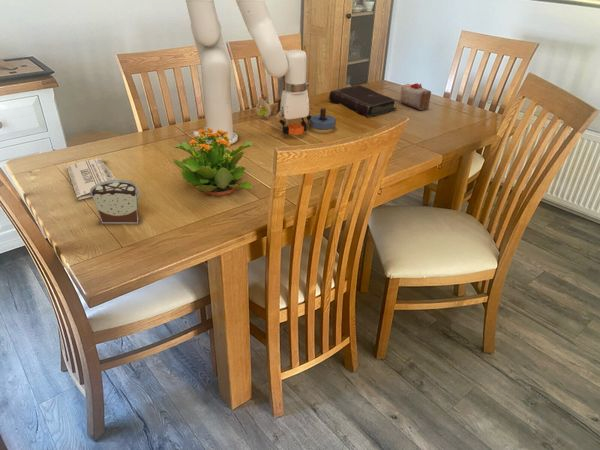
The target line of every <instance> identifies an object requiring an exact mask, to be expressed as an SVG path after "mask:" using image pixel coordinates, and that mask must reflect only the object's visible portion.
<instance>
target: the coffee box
mask: <svg viewBox="0 0 600 450" xmlns="http://www.w3.org/2000/svg"><path fill="white" fill-rule="evenodd" d="M283 90H285V75H284V76H283V77H281V78H277V113H278V112H279V111H280V105H281V97H282V92H283Z"/></svg>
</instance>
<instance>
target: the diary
mask: <svg viewBox="0 0 600 450" xmlns="http://www.w3.org/2000/svg"><path fill="white" fill-rule="evenodd" d="M328 98H329V101H330V102H332V103H335V104H338V105H341V106H344V107H345V108H347V109H349V110H351V111H353V112H356V113H359V114H360V115H363V116H365V117H367V118H369V117H373V116H377V115H381V114H386V113H389V112H393V111H395V110H397V108H398V107H395V102H399V100H397V99H395V98H393V97H390V96H387V95H384V94H381V93H379V92H377V91H375V90H373V89H371V88H369V87H365V86H363V85H361V84H357V85H353V86H347V87H342V88H339V89H335V90H330V91H329V96H328Z"/></svg>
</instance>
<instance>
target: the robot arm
mask: <svg viewBox="0 0 600 450" xmlns="http://www.w3.org/2000/svg"><path fill="white" fill-rule="evenodd" d="M185 3H186V7H187V8H186V9H187V13H188V16H189V20H190V29H191V32H192V36H193V40H194V43H195V44H194V45H195V48H196V50H197V54H198V58H199V63H200V71H201V81H202V94H203V105H204V116H205V117H204V118H205V126H203V130H207V131H208V128H210V129H212V130H213V132H212V133H217V130H221V131H222V130H223V132H224V131H225V132H226V131H227V132H228V134H227V135H228V138H229V143H230V145H232V144H234V143H236V142H237V141H238V140H239V137H238V134H237V133H235V132H234V122H233V120H234V119H233V103H232V102H233V101H232V80H231V79H232V67H231V62H230V59H229V57H228V54H227V52H226V47H225V43H224V38H223V34H222V26H221V23H220V21H219V18H218V14H217V9H216V7H215V0H185ZM235 3H236V5H237V7H238V9H239V12H240V14H241V16H242V19H243V22H244V25H245V27H246V29H247V31H248V33H249V35H250V36H251V38H252V39H253V41H254V43H255V45H256V47H257V49H258V51H259V54H260V56H261V64H262V66H263V68H264V69H265V70H266V72H267V74H268V75H269V76H271V77H272V78H273V79H274V78H275V79H278V78H281V77H283V76H284V75H285V90H283V92H282V97H281V105H280V111H279V112H278V111H277V113H276V114H275V116H274V118H275V119H276V121H278V122H279V123H280V124H281V125H282V133H283V134H284V135H290V134H289V127H288V124H290V120H296V119H297V120H298V119H301V121H300V124H301V125H302V126H304V132H307V131H308V129H307V128H308V125H309V120H310V119H311V117H312V116H314V115H315V113H316V112H315V111H314V110H313V109H312V108H311V107H310V98H309V93H308V89H307V87H309V86H310V82H309V81H307V63H308V62H307V60H308V59H307V58H308V57H307V53H306V52H305V51H304V50H302V49H290V50H285V49H284V47H283V46H282V43H281V40H280V37H279V35H278V33H277V30H276V28H275V24H274V22H273V20H272V17H271V14H270V12H269V10H268V7H267V4H266V1H265V0H235ZM282 117H283V118H282ZM304 132H303V133H304ZM206 133H207V132H206ZM192 135H193V137H194V138H198V135H199V130H196V131H193V132H192ZM199 136H200V135H199ZM206 136H207V135H205V139H206ZM220 138H221V137H219V139H220ZM221 139H222V138H221ZM207 140H208V139H206V141H207ZM213 140H214V139H213ZM222 140H224V138H223V139H222ZM209 142H210V140H209ZM209 142H206V145H209V144H211V142H212V140H211V142H210V143H209Z"/></svg>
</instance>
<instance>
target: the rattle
mask: <svg viewBox="0 0 600 450" xmlns="http://www.w3.org/2000/svg"><path fill="white" fill-rule="evenodd" d="M260 93H261V95H262V96H261V97H259V98H258V101H257V102H256V104H255V113H256V115H257V116H264V117H267V118H268V117H270V116H271V115H272V109H271V105H270V104H269V103H268V102H267V100H268V94H265V95H264V93H263V92H262V91H261V90H260ZM260 107H263V108H260Z"/></svg>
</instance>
